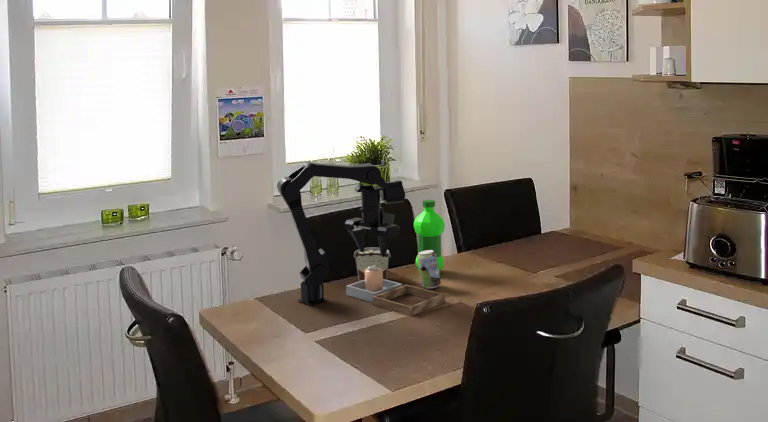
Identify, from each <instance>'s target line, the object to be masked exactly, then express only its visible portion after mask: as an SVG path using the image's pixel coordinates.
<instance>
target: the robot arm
mask: <svg viewBox="0 0 768 422" xmlns="http://www.w3.org/2000/svg"><path fill="white" fill-rule="evenodd" d="M313 177H318V178H319V177H321V178H334V179H346V180H347V179H348V180H352V181H356V182H359V183H358V185H357V186H356V187H354V189H353V190H354V191H355V192H356V193H360V194H361V195H360V198H361V208H359V209H358V212H359V213H361V215H362V216H361V218H360V217H353V218H351V219H346V221H345V222H344V230H347V233H349V234H350V236H351V237H352V239H353V240H354V242H355V244H356V246H357V248H358V249H359V250H360V252H364V248H365V234H366V231H367V230H368V231H369V230H370V231H374V232H377V234H378V236H377V243H378V248H380V252H381V256H382V257H384V256H385V255H386V252H387V250H388V248H389V244H390V242H391V241H392V239H393V238H395V237H397V236H398V235H400V234H401V233H400V230H401V229H400V227H399V225H397V224H394V220H395V214H393V213H389V212H385V209H384V207H381V201H382V202H384V204H397V203H398V204H399V203H405V199H406V192H405V190H404V185H403V181H402V180H400V179H399V180H398V179H397V180H394V181H386V180H385V179H384V178H383V177H382V172H381V169H380V168H379V167H378V166H376V165H374V164H372V163H368V162H367V163H365V162H364V163H357V164H351V165H344V164H343V165H342V164H333V163H332V164H331V163H320V162H319V163H317V162H312V161H307V162H304V163H303V164H302V166H300V167H299V168H298V169H296V170H295V171H292V172H291V173H290V174H289V175H287V176H284V177H281V178H280V179H279V180H278V181H277V183H276V188H277V191H278V193H279V195H280V196H281V198H282V200H283V201H284V203H285V204H286V206H287V208H288V210H289V213H290V215H291V218H292V220H293V221H292V222H293V224H294V226H295V228H296V231H297V234H298V237H299V240H300V242H301V245H302V247H303V253H304V261H305V266H304V267H303V268H302V269H301V270H300V271H299V276H300V278H301V279H302V282H300V296H301V297H300V298H299V299H298V300H297V302H299V303H303V304H306V305H309V306H313V305H317V304H320V303H323V302H326V301H327V300H328V299H327V298H326V297H325V290H324V283H323V281H324V278H325V277H326V276H327V275H328V274H329V271H330V270H329V266H330V265H331V264H330V263H329V261H328V259H327V258H328V257H327V254H326V252H325V251H324V250H323V248H319V249H318V247H317V244H316V240H315V238H314V236H313V233H312V230H311V228H310V225H309V222H308V219H307V216H306V214H305V211H304V209H303V204H302V203H303V202H302V193H301V190H302V189H303V188H304V187H305V186H306V185H307V184H308V183H309V182H310V180H311V179H313ZM362 183H363V184H362ZM364 184H366V185H364ZM374 185H376V186H374Z"/></svg>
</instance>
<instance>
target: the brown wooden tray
mask: <svg viewBox="0 0 768 422" xmlns="http://www.w3.org/2000/svg"><path fill="white" fill-rule="evenodd" d="M406 294H409V295H412V296H415V297H420V298H423V299H425V300H423V301H421V302H418V303H415V304H412V305H407V304H403V303H400V302H396V301H392V299H395V298H398V297H401V296H404V295H406ZM444 303H446V294H444V293H442V292H437V291H434V290H429V289H427V288H423V287H422V288H421V287H418V286H414V285H409V284H405V285H402V286H401V287H399V288H396V289H393V290H390V291H387V292H384V293H382V294H379V295H376V296H373V302H372V305H373V306H377V307H380V308H384V309H387V310H391V311H393V312H397V313H400V314H405V315H408V316H414V315H417V314H420V313H421V312H423V311H426V310H429V309H432V308H433V307H434V308H435V307H436V306H439V305H441V304H444Z"/></svg>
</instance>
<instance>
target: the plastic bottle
mask: <svg viewBox="0 0 768 422" xmlns="http://www.w3.org/2000/svg"><path fill="white" fill-rule="evenodd" d="M421 203H422V207H423V211H422V212H421V213H420V214H418V216H416V217H415V219H414V221H413V228H414V233H415V234H416V235H417V255H416V258H415V266H416V269H417V270H418V272H420V270H419V264H418V258H417V257H418V255H419V254H418V253H419V252H421V251H425V250H433V251H434V253H435V254H436V257H437V263H438V269H439V272H441V271H442V269H443V268H444V265H445V260H444V258H443V255H442V234H443V233H444V231H445V227H446V226H445V225H446V224H445V221H444V219H443V217H442V216H441V215H439V214H438V212H437V211H435V209H434V208H436V201H435V199H424V200H422V202H421Z"/></svg>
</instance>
